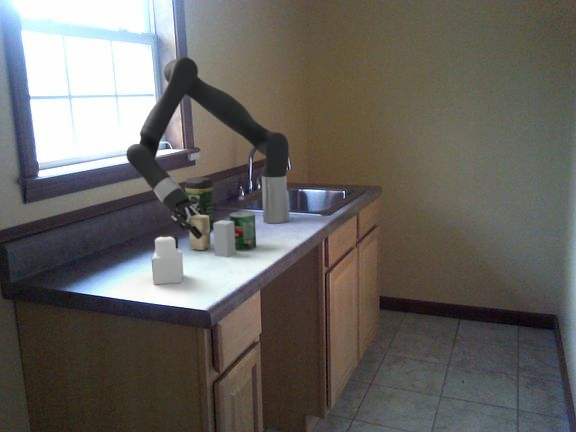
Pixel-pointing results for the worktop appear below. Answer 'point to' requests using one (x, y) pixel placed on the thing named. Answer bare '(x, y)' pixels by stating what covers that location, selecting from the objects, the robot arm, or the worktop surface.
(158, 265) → the medicine bottle
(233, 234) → the grey block
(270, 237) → the worktop surface
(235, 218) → the canned tomato
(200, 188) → the coffee jar
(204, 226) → the maple block
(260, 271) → the worktop surface
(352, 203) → the worktop surface
